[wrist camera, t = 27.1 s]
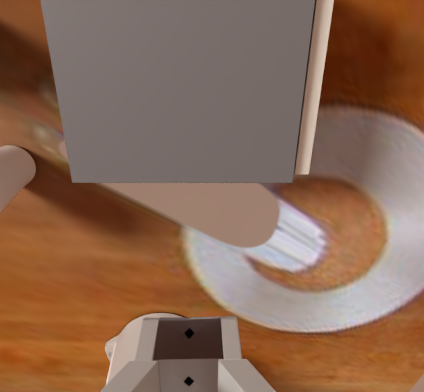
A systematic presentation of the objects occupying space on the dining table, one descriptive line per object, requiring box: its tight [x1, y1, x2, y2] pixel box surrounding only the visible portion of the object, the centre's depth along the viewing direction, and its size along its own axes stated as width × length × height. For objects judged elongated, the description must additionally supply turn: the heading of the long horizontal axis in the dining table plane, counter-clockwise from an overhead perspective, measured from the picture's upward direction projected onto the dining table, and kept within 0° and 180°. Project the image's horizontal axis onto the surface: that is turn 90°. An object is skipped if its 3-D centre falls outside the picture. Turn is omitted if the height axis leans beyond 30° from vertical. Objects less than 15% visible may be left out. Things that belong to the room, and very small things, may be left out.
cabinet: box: [41, 0, 315, 183], centre depth 31 cm, size 18×18×16 cm
